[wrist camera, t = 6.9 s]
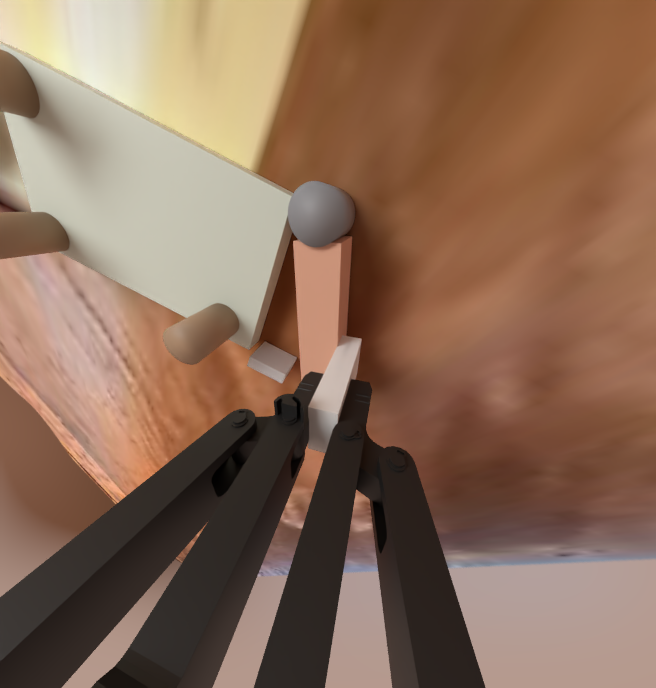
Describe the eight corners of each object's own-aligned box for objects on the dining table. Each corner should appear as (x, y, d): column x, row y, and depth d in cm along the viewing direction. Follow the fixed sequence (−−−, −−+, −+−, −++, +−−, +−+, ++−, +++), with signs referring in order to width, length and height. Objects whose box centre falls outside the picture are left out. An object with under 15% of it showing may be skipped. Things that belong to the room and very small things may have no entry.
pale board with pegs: (67, 249, 20) (-35, 262, 15) (23, 51, 13) (-179, -35, 9) (293, 366, 20) (262, 414, 15) (356, 226, 14) (336, 235, 9)
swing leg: (310, 187, 13) (285, 181, 10) (357, 187, 13) (345, 180, 10) (314, 357, 19) (299, 385, 16) (346, 361, 18) (336, 392, 15)
